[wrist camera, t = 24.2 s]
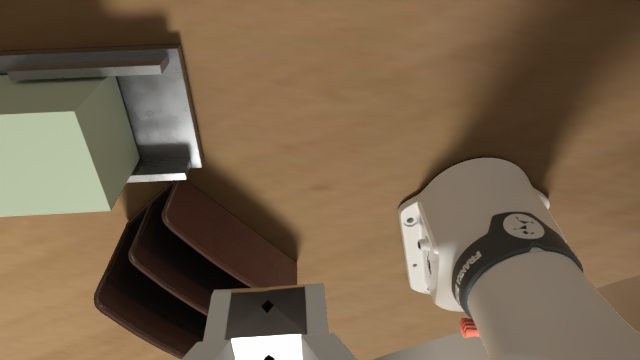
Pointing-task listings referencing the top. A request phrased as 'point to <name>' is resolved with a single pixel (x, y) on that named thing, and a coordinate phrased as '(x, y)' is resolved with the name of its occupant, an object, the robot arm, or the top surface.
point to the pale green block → (63, 145)
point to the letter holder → (183, 267)
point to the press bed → (131, 98)
